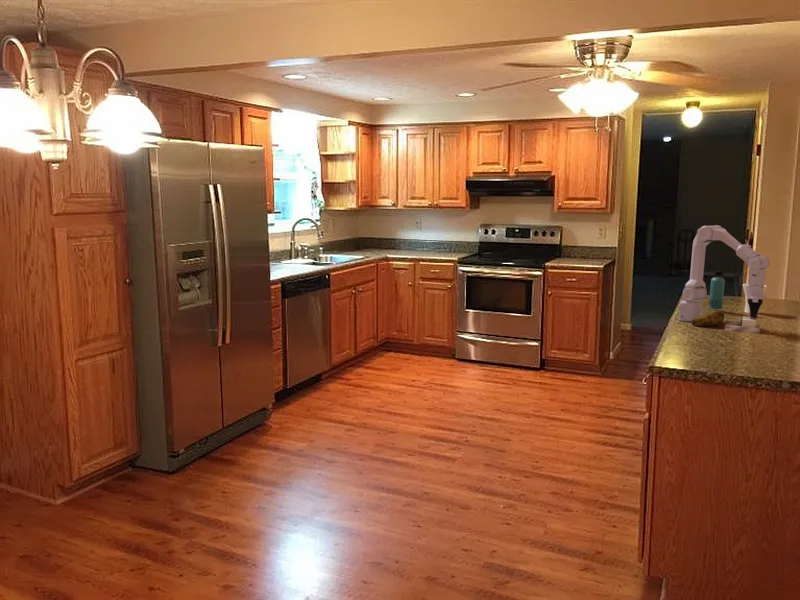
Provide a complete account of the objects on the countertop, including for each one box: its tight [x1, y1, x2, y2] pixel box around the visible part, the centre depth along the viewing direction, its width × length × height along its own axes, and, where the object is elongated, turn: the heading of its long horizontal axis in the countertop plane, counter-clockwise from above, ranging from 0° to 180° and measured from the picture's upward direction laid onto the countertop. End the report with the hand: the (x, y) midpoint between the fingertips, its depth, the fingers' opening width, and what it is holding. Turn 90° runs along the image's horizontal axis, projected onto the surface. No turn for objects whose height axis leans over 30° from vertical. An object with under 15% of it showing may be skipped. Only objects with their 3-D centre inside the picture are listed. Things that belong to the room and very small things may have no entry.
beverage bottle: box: [708, 270, 726, 310], centre depth 327 cm, size 6×7×20 cm
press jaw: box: [740, 315, 758, 328], centre depth 283 cm, size 6×9×8 cm, turn 152°
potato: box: [691, 309, 725, 328], centre depth 290 cm, size 8×13×8 cm, turn 67°
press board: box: [724, 319, 761, 335], centre depth 285 cm, size 13×14×3 cm
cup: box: [742, 282, 768, 314], centre depth 325 cm, size 10×10×14 cm
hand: (753, 316), depth 282 cm, fingers closed on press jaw, 2 cm apart
